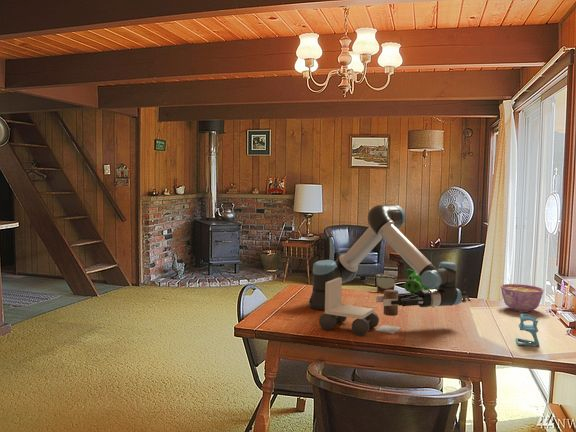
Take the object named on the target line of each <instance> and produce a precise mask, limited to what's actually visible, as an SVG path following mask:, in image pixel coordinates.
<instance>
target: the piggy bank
mask: <svg viewBox="0 0 576 432" xmlns="http://www.w3.org/2000/svg"><path fill="white" fill-rule="evenodd" d="M406 272H407V274H408V279H407V281H405V283H404V290H405V291H406V292H407V293H409V294H415V295H416V294H417V292H418V291H419V290H428V289H434V288H426V287H424V286H423V285H422V283H421V277H420V276H419V275H418V274H417V273H416V272H415V271H414V270H413V269H412V268H408V269H407V270H406Z"/></svg>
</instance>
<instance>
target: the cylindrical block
mask: <svg viewBox="0 0 576 432" xmlns="http://www.w3.org/2000/svg"><path fill="white" fill-rule="evenodd" d="M398 294H399V291H398V290H395V289H394V290H384V292H383V296H384V299H398ZM398 310H399V305H392V306H383V315H385V316H389V317H393V316H394V317H395V316H398V314H399V311H398Z"/></svg>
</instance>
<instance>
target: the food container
mask: <svg viewBox="0 0 576 432" xmlns="http://www.w3.org/2000/svg"><path fill="white" fill-rule="evenodd" d="M375 279H376V289H377V290H376V292H378V293H384V290H395V284H396V281H397V276H396V275H395V274H390V273H377V274H376V275H375Z"/></svg>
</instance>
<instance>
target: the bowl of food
mask: <svg viewBox="0 0 576 432" xmlns="http://www.w3.org/2000/svg"><path fill="white" fill-rule="evenodd" d="M500 289H501V295H502V300H503V302H504V304H505V305H506V306H507V307H508V308H510V309H513V310H512V311H514V310H516V311H515V312H518V311H521V312H520V313H529V312H531V311H533V310H536V309H538V307H539V305H540V304H541V300H542V297H543V294H544V292H545V289H544V288H541V287H539V286H535V285H534V286H533V285H528V284H520V283H519V284H518V283H507V284H501V286H500Z"/></svg>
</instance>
